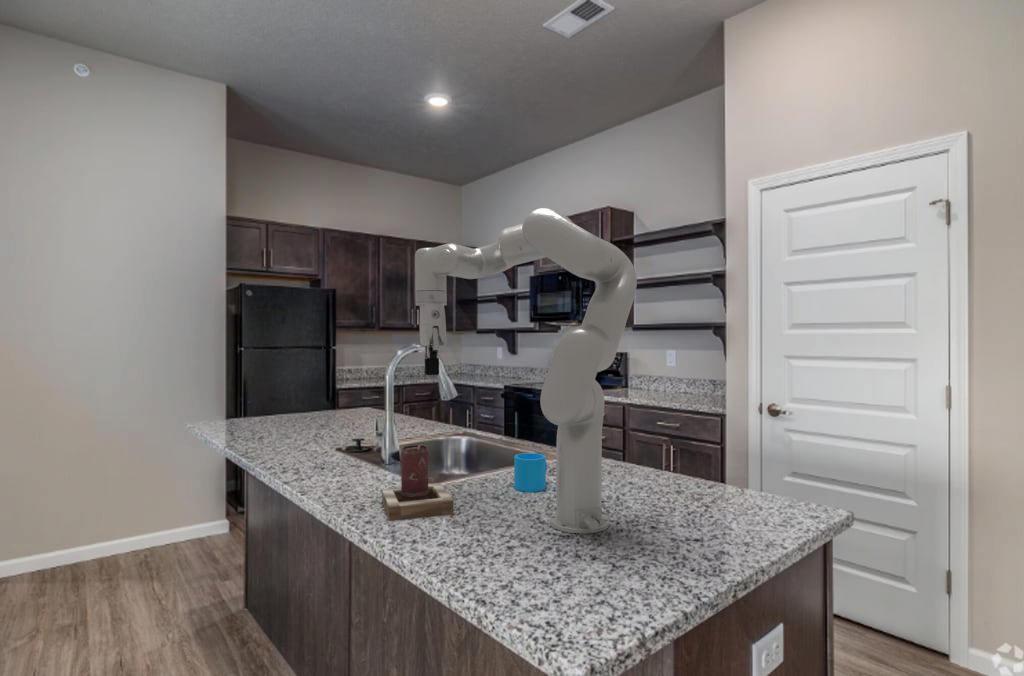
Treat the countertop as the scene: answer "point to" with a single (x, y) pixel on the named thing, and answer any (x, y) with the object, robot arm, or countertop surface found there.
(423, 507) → the socket block
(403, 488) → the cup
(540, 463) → the mug
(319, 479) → the countertop surface
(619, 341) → the robot arm
